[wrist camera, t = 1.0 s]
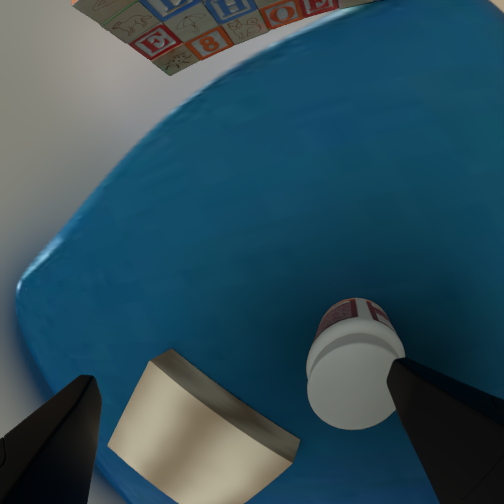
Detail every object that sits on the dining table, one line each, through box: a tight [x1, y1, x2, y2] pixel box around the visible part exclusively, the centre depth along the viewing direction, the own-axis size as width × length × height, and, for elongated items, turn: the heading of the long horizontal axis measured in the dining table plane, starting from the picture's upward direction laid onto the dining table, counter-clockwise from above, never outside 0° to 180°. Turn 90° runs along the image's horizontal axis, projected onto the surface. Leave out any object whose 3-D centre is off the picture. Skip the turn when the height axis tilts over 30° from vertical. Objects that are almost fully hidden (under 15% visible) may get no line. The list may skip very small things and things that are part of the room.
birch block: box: [108, 349, 300, 504], centre depth 21 cm, size 12×12×3 cm
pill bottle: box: [306, 298, 405, 430], centre depth 15 cm, size 5×5×8 cm
